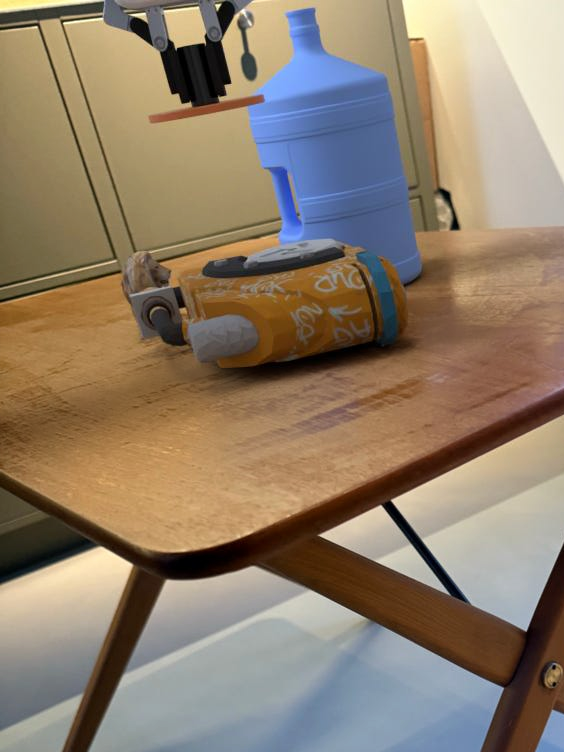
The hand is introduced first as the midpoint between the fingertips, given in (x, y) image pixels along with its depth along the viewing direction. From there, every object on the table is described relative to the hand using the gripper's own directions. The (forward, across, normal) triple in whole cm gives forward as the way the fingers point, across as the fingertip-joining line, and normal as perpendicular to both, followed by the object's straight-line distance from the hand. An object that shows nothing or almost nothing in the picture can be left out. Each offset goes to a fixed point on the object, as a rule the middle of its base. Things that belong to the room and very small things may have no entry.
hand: (204, 97), depth 89 cm
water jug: (+22, -10, -24) cm, 34 cm away
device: (+22, 0, -2) cm, 22 cm away
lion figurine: (+22, +13, -22) cm, 34 cm away
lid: (+1, 0, 0) cm, 1 cm away
